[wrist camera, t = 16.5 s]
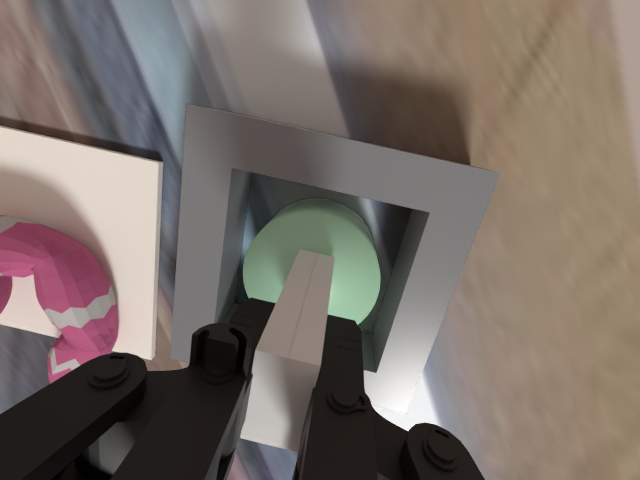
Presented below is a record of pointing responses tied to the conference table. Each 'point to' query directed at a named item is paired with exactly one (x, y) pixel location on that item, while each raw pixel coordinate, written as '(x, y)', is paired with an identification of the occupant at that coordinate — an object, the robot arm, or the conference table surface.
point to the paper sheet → (88, 225)
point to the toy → (60, 290)
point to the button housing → (341, 176)
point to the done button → (320, 237)
